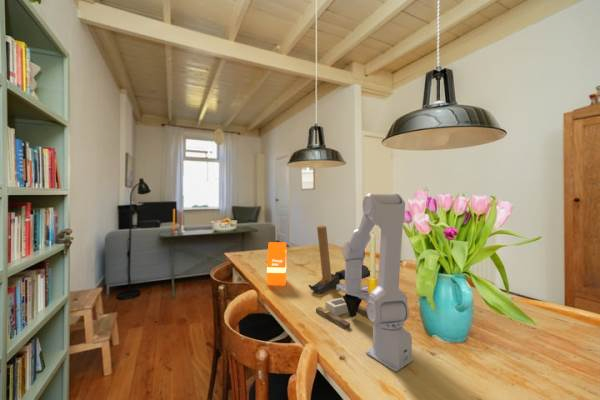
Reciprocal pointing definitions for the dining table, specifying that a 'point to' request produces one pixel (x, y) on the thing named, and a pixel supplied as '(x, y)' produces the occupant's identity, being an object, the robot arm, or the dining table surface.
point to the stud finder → (336, 306)
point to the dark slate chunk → (364, 272)
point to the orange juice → (276, 263)
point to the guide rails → (337, 319)
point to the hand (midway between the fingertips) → (352, 316)
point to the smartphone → (365, 289)
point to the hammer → (325, 265)
